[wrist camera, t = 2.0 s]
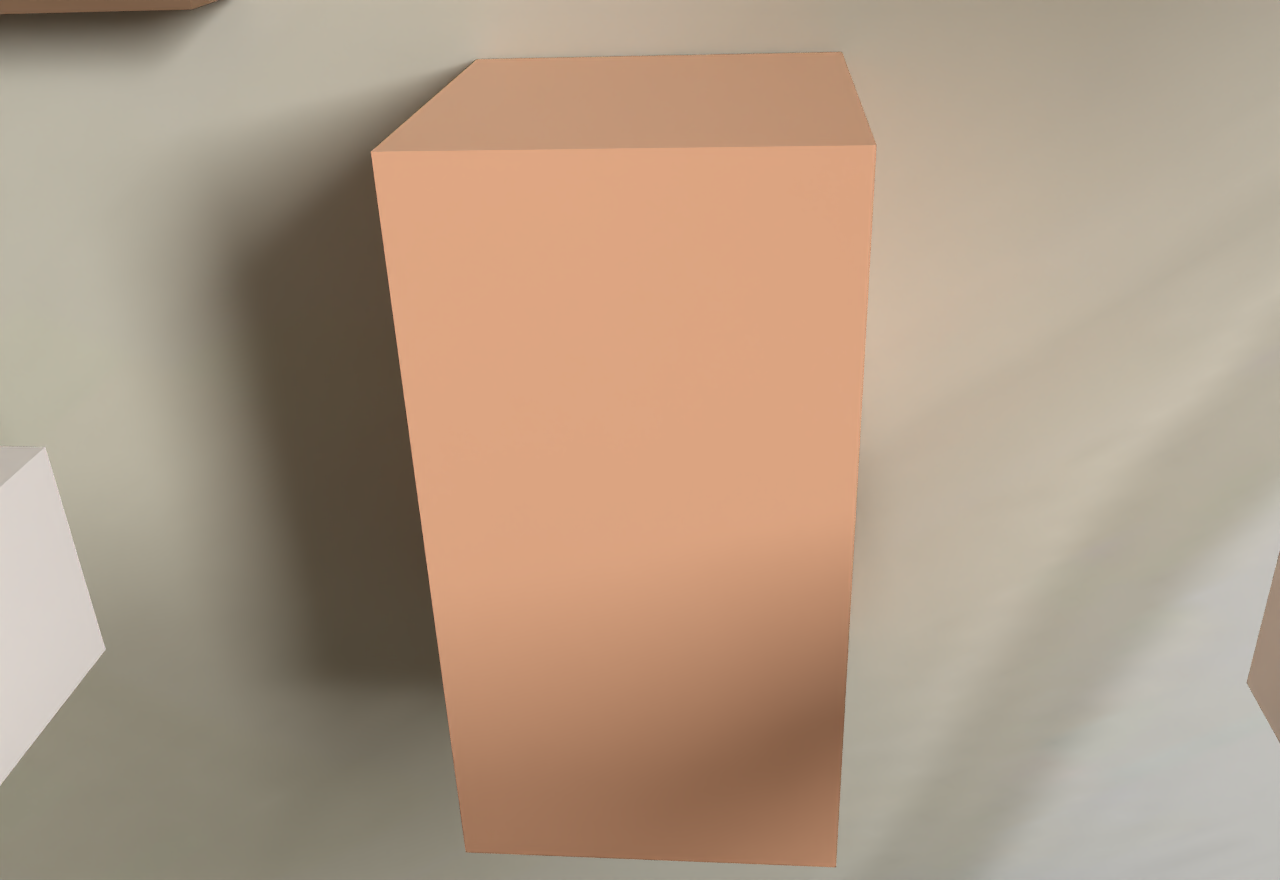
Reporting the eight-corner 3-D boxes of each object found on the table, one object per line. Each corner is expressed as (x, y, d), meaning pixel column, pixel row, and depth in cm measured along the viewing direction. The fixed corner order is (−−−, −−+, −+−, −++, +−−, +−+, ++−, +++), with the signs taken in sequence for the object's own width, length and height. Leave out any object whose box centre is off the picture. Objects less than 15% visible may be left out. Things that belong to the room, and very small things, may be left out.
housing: (817, 632, 20) (836, 867, 15) (529, 625, 20) (466, 851, 16) (841, 51, 16) (876, 145, 11) (477, 58, 16) (370, 152, 12)
